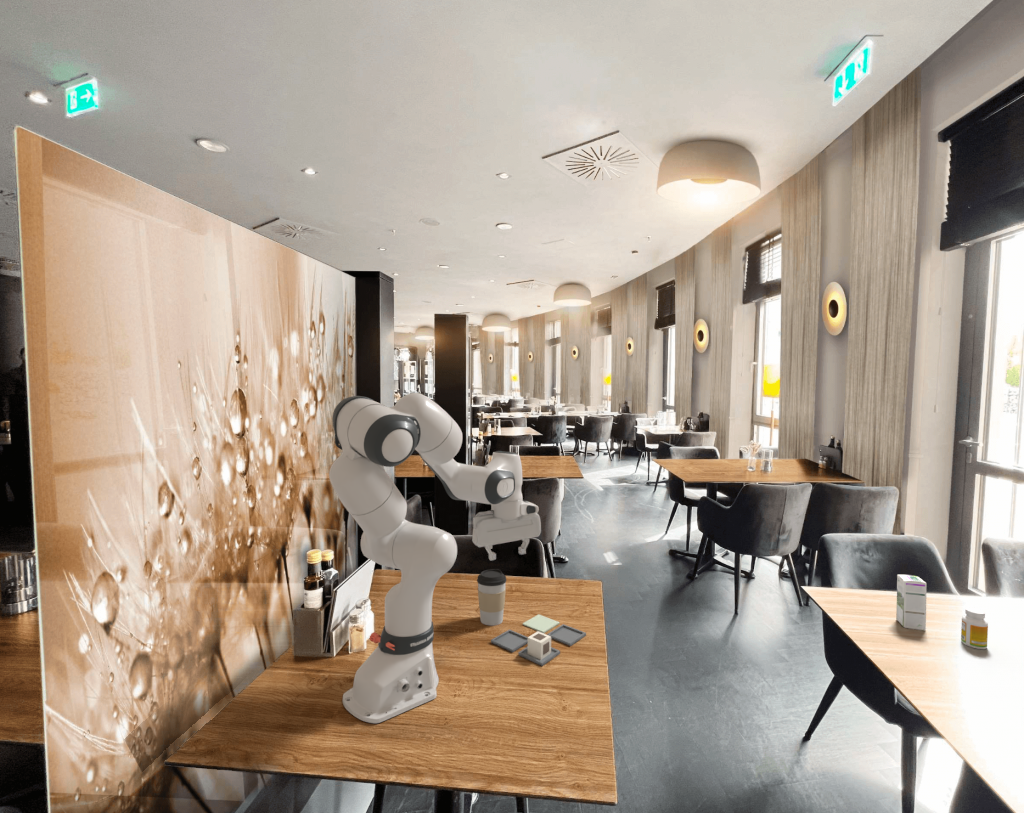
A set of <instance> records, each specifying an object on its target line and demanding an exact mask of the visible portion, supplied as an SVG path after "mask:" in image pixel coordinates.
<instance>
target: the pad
mask: <svg viewBox="0 0 1024 813" xmlns="http://www.w3.org/2000/svg"><path fill="white" fill-rule="evenodd" d="M522 625H523V626H524V627H527V628H530V629H532V630H534V631H536V632H537V631H539V632H541V633H544V634H546V632H549V631H550V630H552V629H553V628H555V627H556V626H558V625H560V622H559V621H558V620H554V619H552V618H549V617H547V616H545V615H542V614H539V613H538V614H537V615H535V616H533V617H532V618H530V619H528V620H525V621H524V622H522Z"/></svg>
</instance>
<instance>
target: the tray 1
mask: <svg viewBox="0 0 1024 813" xmlns="http://www.w3.org/2000/svg"><path fill="white" fill-rule="evenodd" d="M528 637H529V636H526V635H523V634H521V633H519V632H517V631H514V630H512V629H507V630H506V631H505V632H502V633H501V634H499V635H497V636H495V637H494V638H492V639H491V640H490V643H491V644H493V645H495V646H496V647H499V648H502V649H503V650H506V651H508V652H510V653H512V654H513V653H514V652H516V651H518V650H519V649H521V648H523V647H524V646H526V645H528Z"/></svg>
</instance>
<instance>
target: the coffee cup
mask: <svg viewBox="0 0 1024 813" xmlns="http://www.w3.org/2000/svg"><path fill="white" fill-rule="evenodd" d="M476 583H477V596H478V608H479V617H480V623H481V624H483V625H486V626H492V627H493V626H499V625H501V624H502V623H503V620H504V611H505V610H504V609H505V605H506V604H505V602H506V589H507V588H506V583H507V577H506V575H505V574H504V573H503V572H502V570H501V569H499V568H493V569H486V570H483V571H481V572H480V573H479V575H477V579H476Z"/></svg>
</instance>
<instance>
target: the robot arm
mask: <svg viewBox="0 0 1024 813" xmlns="http://www.w3.org/2000/svg"><path fill="white" fill-rule="evenodd" d="M331 422H332V427H333V432H334V445H335V446H336V447H337V448H338V449H340V450H341V451H342V452H341V454H340V455H339V456H338V457H337V458H336V459H335V460H334V461H333V463H332V464H331V466H330V468H329V472H328V477H329V478H328V479H329V481H330V484H331V486H332V488H333V490H334V493H335V494H336V496H337V498H338V499H339V501H340V503H341V504H342V506H343V507H344V509H346V511H347V512H348V513H349V514H350V515H351V517H352V518H353V520H354V521H355V522H356V523H357V525H358V526H359V527H360V528H361V530H362V531H363V532H362V534H361V537H360V538H361V539H360V550H361V552H362V555H363V556H364V557H365V558H367V559H368V560H370V561H372V562H374V563H376V564H378V565H380V566H383V567H388V568H391V569H392V568H393V569H396V570H400V572H401V578H400V582H399V583H396V584H395V585H393V586H392V587H391V588H390V589H389V590H388V592H387V593H386V595H385V597H384V625H383V626H384V627H383V628H382V631H381V634H379V633H377V632H375V631H374V632H371V634H370V635H369V640H370V642H372V643H374V644H377V645H378V646H376V648H375V649H374V651H372V653H371V654H370V655H369V656H368V657H367V658H366V659H365V661H364V662H363V663H362V664H361V665H360V667H358V669H357V670H356V672H355V674H354V678H353V686H352V687H350V688H349V689H348V690H347V691H345V692H343V695H342V704H343V707H344V708H345V709H346V711H347V712H348V713H349V714H351V715H353V716H354V717H355V718H357V719H358V720H360V721H363V722H366V723H369V724H379V723H382V722H384V721H388V720H389V719H392V718H394V717H396V716H399V715H400V714H404V713H405V712H408V711H410V710H411V709H414V708H417V707H418V706H421V705H423V704H425V703H428V702H431V701H432V700H434V699H437V696H438V695H437V688H438V685H439V681H440V680H439V679H440V677H439V676H438V671H437V668H436V664H435V657H434V647H433V641H434V634H435V633H434V631H435V630H434V622H433V620H432V618H433V617H432V616H433V613H432V612H433V595H434V590H435V587H436V585H437V583H438V581H439V580H440V579H441V577H442V576H444V575H445V574H446V573H448V572H449V571H450V570H451V569H452V567H453V566H454V564H455V562H456V561H457V560H456V559H457V555H458V544H457V541H456V539H455V537H454V535H452V534H451V533H450V532H447V531H446V530H444V529H440V528H438V527H436V526H432V525H431V526H430V525H426V524H420V523H415V522H411V521H409V520H407V519H406V516H407V511H408V503H407V500H406V499H405V497H404V495H402V493H401V491H400V490H399V489H398V487H397V486H396V484H395V483H394V481H393V480H392V478H391V477H390V475H389V474H388V473H387V472H386V469H385V467H388V468H392V467H396V466H399V465H401V464H403V463H404V462H405V461H406V460H407V459H409V458H410V456H412V454H413V453H414V451H416V452H417V453H418V454H419V457H420V458H421V460H422V461H423V462H424V464H425V465H427V467H428V468H429V470H431V472H433V474H434V475H435V476H437V478H438V479H439V481H440V482H441V483H442V486H443V488H444V490H445V493H446V494H447V495H448V496H449V498H451V499H452V500H455V501H466V502H467V501H468V502H473V503H477V504H479V503H480V504H485V505H490V506H491V509H490V510H487V511H479V512H477V513H476V514H475V515H474V516H473V518H472V527H473V528H472V536H471V537H472V540H471V542H472V543H473V544H474V545H475V546H476V547H478V548H485V550H486V552H487V554H488V559H489V561H492V562H493V561H495V560H497V553H496V552H494V551H492V550H491V549H493V546H495V545H501V544H505V543H510V542H517V541H522V544H521V545H520V546H518V554H519V555H521V556H522V555H526V554H527V548H528V546H529V544H530V539H533V538H534V539H535V538H538V537H540V535H541V533H542V523H541V517H540V515H539V510H540V509H539V508H540V507H539V506H538V505H536V504H535V503H533V502H530V501H528V500H524V499H523V498H524V497H523V493H522V485H523V482H524V481H523V480H524V478H523V466H522V465H523V464H522V460H521V457H520V455H519V454H518V453H516V452H514V451H513V452H511V451H502V450H496V451H493V453H492V457H491V460H490V461H489V462H488V463H487V464H486V465H484V466H481V465H475V464H474V465H472V464H468V463H467V464H466V463H462V462H457V461H456V460H455V459H454V458H455V456H457V454H458V453H459V452H460V449H461V447H462V444H463V432H462V429H461V427H460V426H459V424H458V423H457V422H456V420H454V418H453V417H452V416H451V415H450V414H449V413H448V412H447V411H446V410H445V409H443V408H442V407H441V406H440V405H439V404H438V403H437V402H436V401H434V400H432V399H431V398H429V397H428V396H426V395H424V393H419V392H411V393H408V394H405V395H404V396H402V397H400V398H399V399H398V400H397V401H396V403H395V404H394V406H391V407H389V406H386V405H384V404H383V403H380V402H377V401H375V400H374V399H372V398H370V397H367V396H361V395H353V396H347V397H346V398H343V399H341V401H340V402H338V403H337V405H336V406H335V408H334V410H333V413H332V421H331Z"/></svg>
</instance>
